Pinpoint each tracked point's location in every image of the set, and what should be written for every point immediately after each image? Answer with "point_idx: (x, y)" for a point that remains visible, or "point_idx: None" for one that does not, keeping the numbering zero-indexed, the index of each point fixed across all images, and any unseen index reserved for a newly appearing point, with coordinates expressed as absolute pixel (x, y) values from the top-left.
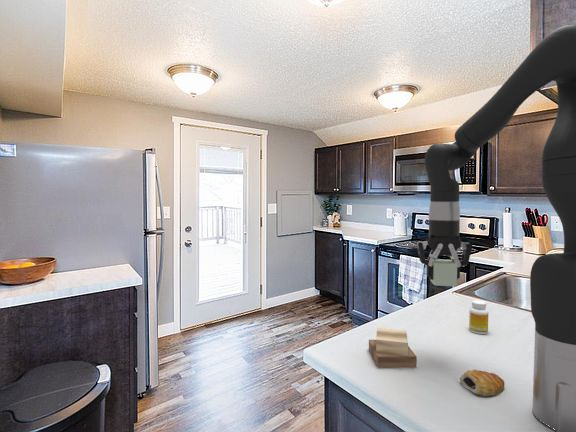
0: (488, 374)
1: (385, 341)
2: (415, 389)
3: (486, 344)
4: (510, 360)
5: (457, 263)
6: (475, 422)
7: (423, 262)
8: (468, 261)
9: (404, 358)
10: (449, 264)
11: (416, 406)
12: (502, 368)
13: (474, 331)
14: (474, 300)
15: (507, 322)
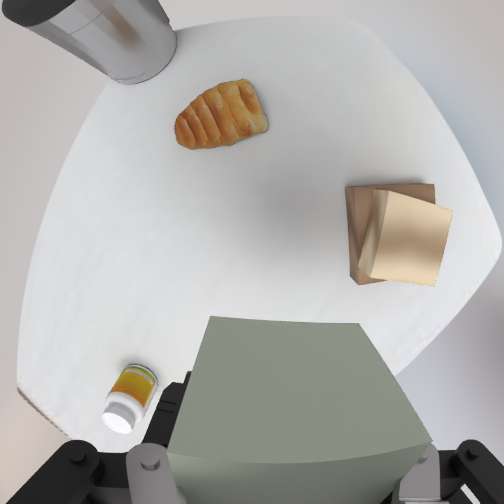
0: (206, 112)
1: (434, 204)
2: (365, 103)
3: (139, 319)
4: (116, 247)
5: (156, 476)
6: (284, 24)
7: (474, 444)
8: (51, 459)
9: (380, 186)
10: (269, 456)
11: (371, 59)
12: (145, 207)
13: (149, 372)
14: (125, 433)
15: (86, 403)
